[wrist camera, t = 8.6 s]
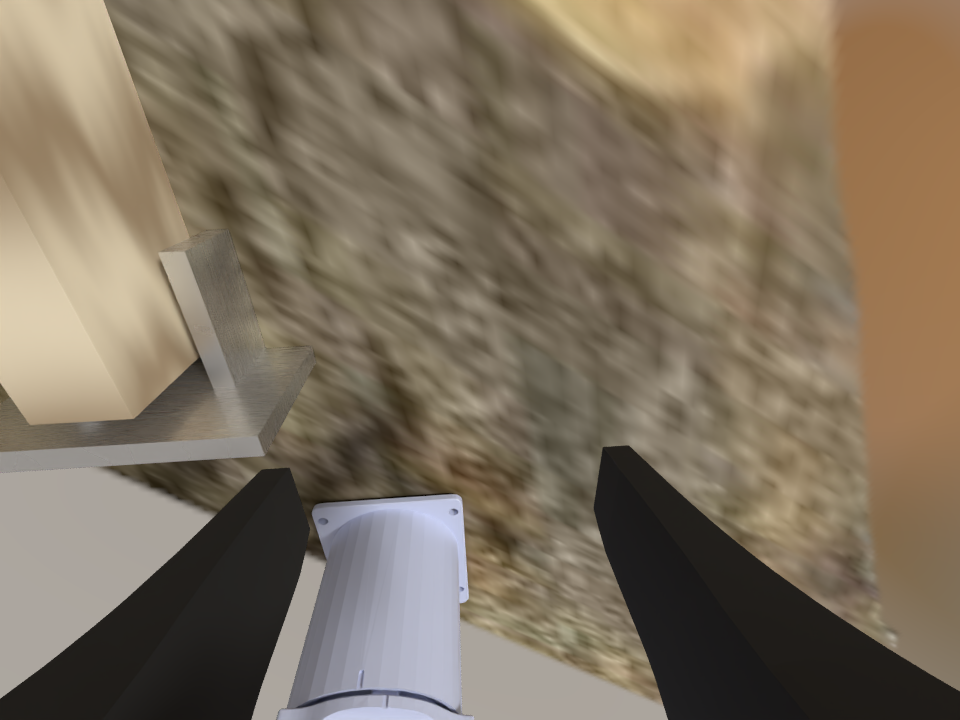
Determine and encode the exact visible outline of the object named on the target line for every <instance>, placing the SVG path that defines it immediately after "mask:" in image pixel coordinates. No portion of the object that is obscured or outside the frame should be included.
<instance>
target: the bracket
mask: <svg viewBox="0 0 960 720" xmlns="http://www.w3.org/2000/svg"><path fill="white" fill-rule="evenodd" d="M158 254H159V256H160V259H161V261H162V263H163V266H164V268H165V271H166V273H167V276H168V278H169V281H170V283H171V286H172V288H173V291H174V293H175V295H176V298H177V300H178V303H179V305H180V308H181V310H182V313H183V315H184V318H185V320H186V323H187V325H188V327H189V330H190V332H191V335H192V337H193V340H194V342H195V345H196V347H197V350H198V352H199V355H200V357H199V358H198V359H197V360H196V361H195V362H194V363H192V364H191V365H190V366H189V367H188V368H187V369H186V370H185V371H184V372H183V373H182V374H181V375H180V376H179V377H178V378H177V379H176V380H175V381H173V382H172V383H171V384H170V385H169V386H168V387H167V388H166V389H165V390H164V391H163V392H162V393H161V394H160V395H159V396H158V397H157V398H156V399H154V400H153V401H152V402H151V403H150V404H149V405H148V406H147V407H146V408H145V409H144V410H143V411H142V412H141V413H140V414H139V415H138V416H136V417H135V418H134V419H125V420H107V421H90V422H73V423H55V424H38V425H30V424H29V423H28V422H27V420H26V419H25V417H24V416H23V414H22V413H21V412H20V410H19V409H18V407H17V406H16V405H15V403H14V402H13V400H12V399H11V397H10V398H8V399H7V400H5V401H4V402H2V403H0V473H5V472H6V473H7V472H21V471H38V470H53V469H68V468H84V467H100V466H115V465H131V464H146V463H162V462H177V461H193V460H208V459H224V458H239V457H255V456H265V455H266V453H267V451H268V449H269V447H270V445H271V444H272V442H273V440H274V438H275V436H276V434H277V433H278V431H279V429H280V427H281V425H282V423H283V422H284V420H285V418H286V416H287V414H288V412H289V411H290V409H291V407H292V405H293V403H294V401H295V400H296V398H297V396H298V394H299V392H300V390H301V389H302V387H303V385H304V383H305V381H306V379H307V378H308V376H309V374H310V372H311V370H312V369H313V367H314V365H315V363H316V360H315V356H314V352H313V348H312V346H301V347H283V348H266V347H265V344H264V341H263V338H262V334H261V331H260V328H259V325H258V322H257V319H256V315H255V312H254V309H253V306H252V303H251V300H250V296H249V293H248V290H247V287H246V284H245V280H244V277H243V274H242V271H241V268H240V265H239V261H238V258H237V255H236V252H235V249H234V246H233V242H232V239H231V236H230V233H229V230H228V229H227V230H206V231H204V232H202V233H199V234H197V235H195V236H193V237H191V238H188V239H186V240H184V241H182V242H180V243H177V244H175V245H173V246H171V247H169V248H167V249H164V250H162V251H160V252H158Z"/></svg>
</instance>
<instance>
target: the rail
mask: <svg viewBox="0 0 960 720" xmlns="http://www.w3.org/2000/svg"><path fill="white" fill-rule="evenodd" d="M188 238H189V235H188V232H187V229H186V227H185V224H184V221H183V218H182V216H181V213H180V210H179V207H178V205H177V202H176V199H175V196H174V194H173V191H172V188H171V185H170V183H169V180H168V177H167V174H166V172H165V169H164V166H163V163H162V161H161V158H160V155H159V152H158V150H157V147H156V144H155V141H154V139H153V136H152V133H151V130H150V128H149V125H148V122H147V119H146V117H145V114H144V111H143V108H142V106H141V103H140V100H139V97H138V95H137V92H136V89H135V86H134V84H133V81H132V78H131V75H130V73H129V70H128V67H127V64H126V62H125V59H124V56H123V53H122V51H121V48H120V45H119V42H118V40H117V37H116V34H115V31H114V29H113V26H112V23H111V20H110V18H109V15H108V12H107V9H106V7H105V4H104V1H103V0H0V383H1V385H2V386H3V387H4V389H5V390H6V392H7V393H8V395H9V396H10V397H11V399H12V400H13V402H14V403H15V405H16V406H17V407H18V409H19V410H20V412H21V413H22V414H23V416H24V417H25V419H26V420H27V422H28V423H29V424H30V425H38V424H55V423H73V422H90V421H107V420H125V419H134V418H135V417H136V416H138V415H139V414H140V413H141V412H142V411H143V410H144V409H145V408H146V407H147V406H148V405H149V404H150V403H151V402H152V401H153V400H154V399H156V398H157V397H158V396H159V395H160V394H161V393H162V392H163V391H164V390H165V389H166V388H167V387H168V386H169V385H170V384H171V383H172V382H173V381H175V380H176V379H177V378H178V377H179V376H180V375H181V374H182V373H183V372H184V371H185V370H186V369H187V368H188V367H189V366H190V365H191V364H192V363H194V362H195V361H196V360H197V359H198V358H199V357H200V355H199V352H198V350H197V347H196V345H195V342H194V340H193V337H192V335H191V332H190V330H189V327H188V325H187V323H186V320H185V318H184V315H183V313H182V310H181V308H180V305H179V303H178V300H177V298H176V295H175V293H174V291H173V288H172V286H171V283H170V281H169V278H168V276H167V273H166V271H165V268H164V266H163V263H162V261H161V259H160V256H159V254H158V252H160V251H162V250H164V249H167V248H169V247H171V246H173V245H175V244H177V243H180V242H182V241H184V240H186V239H188Z"/></svg>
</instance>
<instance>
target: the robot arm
mask: <svg viewBox="0 0 960 720" xmlns="http://www.w3.org/2000/svg"><path fill="white" fill-rule="evenodd" d="M452 509H455V510H452ZM594 512H595V516H596V519H597V523H598V527H599V531H600V534H601V538H602V541H603V545H604V548H605V552H606V554H607V557H608V559H609V562H610V564H611V567H612V569H613V572H614V574H615V577H616V579H617V582H618V584H619V587H620V589H621V592H622V594H623V597H624V599H625V602H626V604H627V607H628V609H629V612H630V614H631V617H632V619H633V622H634V624H635V627H636V629H637V631H638V634H639V636H640V639H641V641H642V644H643V646H644V649H645V651H646V654H647V657H648V659H649V662H650V665H651V668H652V670H653V673H654V676H655V679H656V682H657V685H658V689H659V692H660V695H661V698H662V702H663V705H664V708H665V711H666V714H667V718H668V720H960V691H958V690H956V689H955V688H953V687H951V686H949V685H948V684H946V683H944V682H943V681H941V680H939V679H937V678H936V677H934V676H932V675H930V674H929V673H927V672H926V671H924V670H922V669H920V668H919V667H917V666H916V665H914V664H912V663H911V662H909V661H907V660H906V659H904V658H902V657H901V656H899V655H898V654H896V653H894V652H893V651H891V650H889V649H888V648H886V647H885V646H883V645H882V644H880V643H878V642H877V641H875V640H874V639H872V638H871V637H869V636H868V635H866V634H865V633H863V632H861V631H860V630H858V629H857V628H855V627H854V626H852V625H851V624H849V623H847V622H846V621H844V620H843V619H841V618H840V617H838V616H837V615H835V614H834V613H832V612H831V611H829V610H828V609H826V608H825V607H823V606H822V605H820V604H819V603H818V602H816V601H815V600H813V599H812V598H810V597H809V596H808V595H806V594H805V593H803V592H802V591H801V590H799V589H798V588H797V587H795V586H794V585H792V584H791V583H790V582H788V581H787V580H785V579H784V578H783V577H781V576H780V575H778V574H777V573H776V572H774V571H773V570H772V569H770V568H769V567H768V566H766V565H765V564H764V563H762V562H761V561H760V560H758V559H757V558H756V557H755V556H753V555H752V554H751V553H750V552H748V551H747V550H746V549H745V548H743V547H742V546H741V545H740V544H738V543H737V542H736V541H735V540H733V539H732V538H731V537H730V536H728V535H727V534H726V533H725V532H724V531H722V530H721V529H720V528H719V527H718V526H716V525H715V524H714V523H713V522H712V521H711V520H709V519H708V518H707V517H706V516H705V515H704V514H703V513H701V512H700V511H699V510H698V509H697V508H696V507H695V506H693V505H692V504H691V503H690V502H689V501H688V500H687V499H686V498H684V497H683V496H682V495H681V494H680V493H679V492H678V491H677V490H676V489H675V488H674V487H672V486H671V485H670V484H669V483H668V482H667V481H666V480H665V479H664V478H663V477H662V476H661V475H660V474H659V473H657V472H656V471H655V470H654V469H653V468H652V467H651V466H650V465H649V464H648V463H647V462H646V461H645V460H644V459H643V458H642V457H640V456H639V455H638V454H637V453H636V452H635V451H634V450H633V449H632V448H631V447H630V446H613V447H603V450H602V457H601V463H600V470H599V476H598V483H597V489H596V496H595V503H594ZM312 517H313V520H314V523H315V526H316V529H317V532H318V535H319V538H320V541H321V544H322V547H323V550H324V553H325V557H326V560H327V563H326V567H325V571H324V574H323V578H322V582H321V585H320V589H319V593H318V596H317V600H316V603H315V607H314V611H313V614H312V618H311V621H310V625H309V629H308V633H307V636H306V640H305V644H304V647H303V651H302V654H301V658H300V662H299V665H298V669H297V672H296V676H295V680H294V683H293V687H292V691H291V694H290V698H289V702H288V705H287V709H281V710H279V712H278V715H277V719H276V720H474V717H473V716H472V715H462V690H461V651H460V650H461V649H460V648H461V647H460V604H459V603H463V602H465V601H467V600H468V598H469V595H468V579H467V565H466V550H465V535H464V521H463V506H462V498H461V497H460V496H459V495H456V494H447V495H432V496H418V497H403V498H389V499H375V500H360V501H346V502H332V503H320V504H317V505H315V506H314V508H313V511H312ZM323 518H325V519H323ZM309 531H310V527H309V524H308V521H307V518H306V515H305V512H304V509H303V506H302V503H301V500H300V498H299V495H298V492H297V489H296V486H295V483H294V480H293V477H292V474H291V471H290V468H279V469H264V470H261V471H260V472H259V473H258V474H257V475H256V476H255V477H254V478H253V479H252V480H251V481H250V482H249V483H248V484H247V485H246V486H245V487H244V488H243V489H242V490H241V491H240V492H239V493H238V494H237V495H236V496H235V497H234V498H233V499H232V500H231V501H230V502H229V503H228V504H227V505H226V506H225V507H224V508H223V509H222V510H221V511H220V512H219V513H218V514H217V515H216V516H215V517H214V518H213V519H211V520H210V521H209V522H208V524H206V525H205V526H204V527H203V528H202V529H201V530H200V531H199V532H198V533H197V534H196V535H195V536H194V537H193V538H192V539H191V540H190V541H189V542H188V543H187V544H186V545H185V546H184V547H183V548H182V549H181V550H180V551H179V552H177V553H176V554H175V555H174V556H173V557H172V558H171V559H170V560H169V561H168V562H167V563H165V564H164V565H163V566H162V567H161V568H160V569H159V570H158V571H156V572H155V573H154V574H153V575H152V576H151V577H150V578H149V579H148V580H147V581H145V582H144V583H143V584H142V585H141V586H140V587H139V588H138V589H137V590H136V591H134V592H133V593H132V594H131V595H130V596H129V597H128V598H127V599H126V600H124V601H123V602H122V603H121V604H120V605H119V606H118V607H116V608H115V609H114V610H113V611H112V612H110V613H109V614H108V615H107V616H106V617H105V618H103V619H102V620H101V621H100V622H98V623H97V624H96V625H95V626H94V627H92V628H91V629H90V630H89V631H88V632H86V633H85V634H84V635H83V636H81V637H80V638H79V639H78V640H76V641H75V642H74V643H73V644H71V645H70V646H69V647H68V648H66V649H65V650H64V651H63V652H62V653H60V654H59V655H58V656H57V657H55V658H54V659H53V660H51V661H50V662H49V663H47V664H46V665H45V666H44V667H42V668H41V669H40V670H38V671H37V672H36V673H34V674H33V675H32V676H30V677H29V678H28V679H26V680H25V681H24V682H22V683H21V684H20V685H18V686H17V687H16V688H14V689H13V690H11V691H10V692H9V693H7V694H6V695H5V696H3V697H2V698H1V699H0V720H251V719H252V715H253V711H254V708H255V705H256V702H257V699H258V695H259V692H260V689H261V686H262V683H263V680H264V677H265V674H266V672H267V669H268V666H269V663H270V660H271V657H272V654H273V652H274V649H275V646H276V643H277V640H278V637H279V634H280V631H281V629H282V626H283V623H284V620H285V617H286V614H287V612H288V608H289V606H290V603H291V600H292V597H293V594H294V591H295V588H296V585H297V582H298V579H299V576H300V573H301V568H302V564H303V560H304V556H305V551H306V546H307V541H308V536H309Z"/></svg>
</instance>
